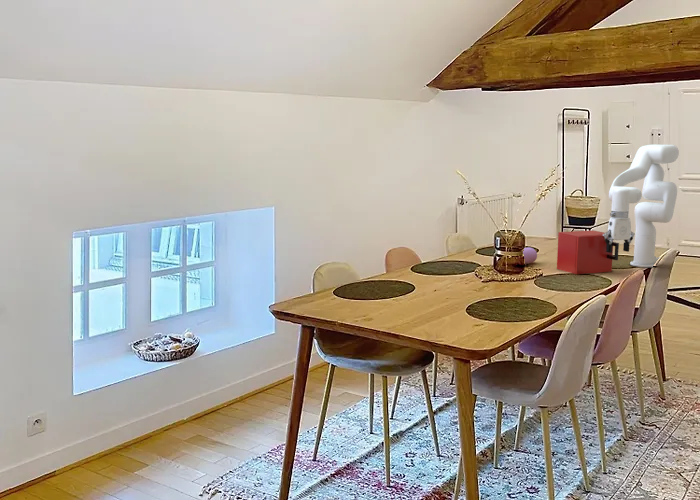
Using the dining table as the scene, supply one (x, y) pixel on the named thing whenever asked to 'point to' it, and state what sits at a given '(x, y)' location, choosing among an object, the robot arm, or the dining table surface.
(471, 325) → the dining table surface
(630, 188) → the robot arm
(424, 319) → the dining table surface
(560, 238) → the cabinet
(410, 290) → the dining table surface
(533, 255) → the toy
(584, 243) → the door
